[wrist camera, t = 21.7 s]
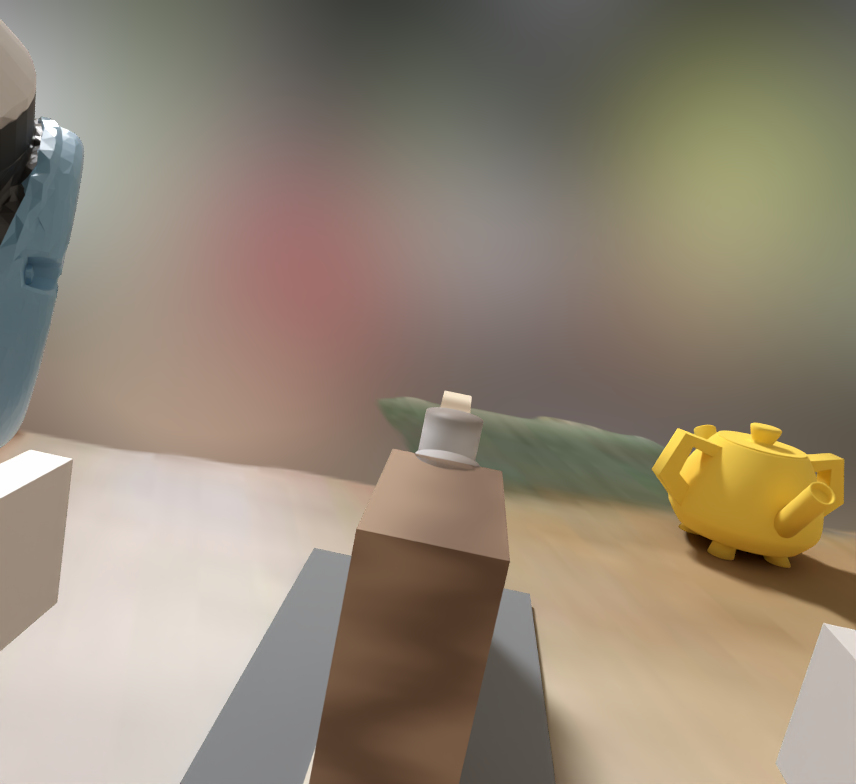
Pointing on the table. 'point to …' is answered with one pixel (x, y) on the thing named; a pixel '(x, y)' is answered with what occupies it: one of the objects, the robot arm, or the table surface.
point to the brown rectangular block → (415, 623)
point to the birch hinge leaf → (452, 426)
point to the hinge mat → (307, 682)
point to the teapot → (750, 491)
